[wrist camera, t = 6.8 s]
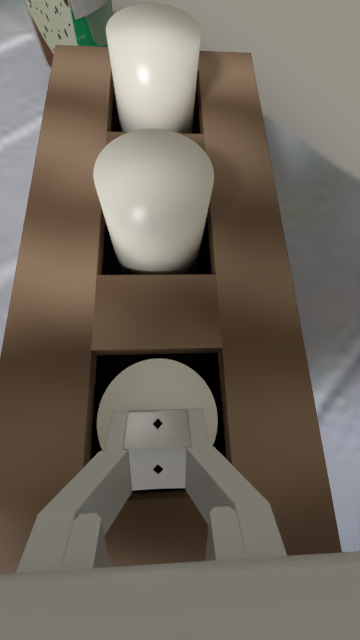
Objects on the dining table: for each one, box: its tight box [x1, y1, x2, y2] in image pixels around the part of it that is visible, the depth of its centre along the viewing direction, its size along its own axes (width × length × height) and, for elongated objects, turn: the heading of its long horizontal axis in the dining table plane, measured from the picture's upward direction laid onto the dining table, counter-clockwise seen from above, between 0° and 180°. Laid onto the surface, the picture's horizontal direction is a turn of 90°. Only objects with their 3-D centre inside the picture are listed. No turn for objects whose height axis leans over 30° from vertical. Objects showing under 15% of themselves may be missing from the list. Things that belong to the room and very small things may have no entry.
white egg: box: [97, 358, 218, 451], centre depth 13 cm, size 4×4×5 cm
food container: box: [24, 0, 112, 70], centre depth 25 cm, size 12×6×10 cm, turn 36°
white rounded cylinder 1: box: [106, 3, 201, 134], centre depth 16 cm, size 4×4×5 cm
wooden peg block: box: [0, 45, 342, 574], centre depth 17 cm, size 26×12×9 cm, turn 2°
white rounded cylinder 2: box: [93, 129, 214, 275], centre depth 13 cm, size 4×4×5 cm
